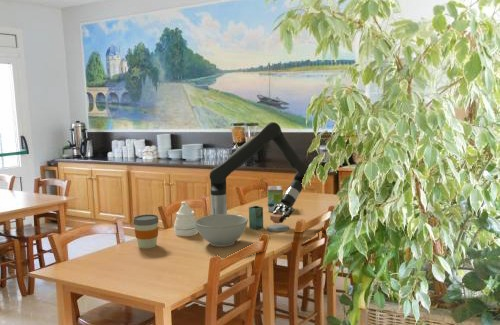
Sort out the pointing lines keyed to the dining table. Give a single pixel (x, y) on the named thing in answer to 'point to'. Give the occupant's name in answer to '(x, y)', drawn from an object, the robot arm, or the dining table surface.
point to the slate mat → (278, 228)
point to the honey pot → (185, 221)
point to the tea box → (274, 196)
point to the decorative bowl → (221, 228)
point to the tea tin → (256, 217)
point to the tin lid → (276, 218)
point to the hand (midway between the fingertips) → (276, 221)
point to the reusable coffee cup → (146, 230)
